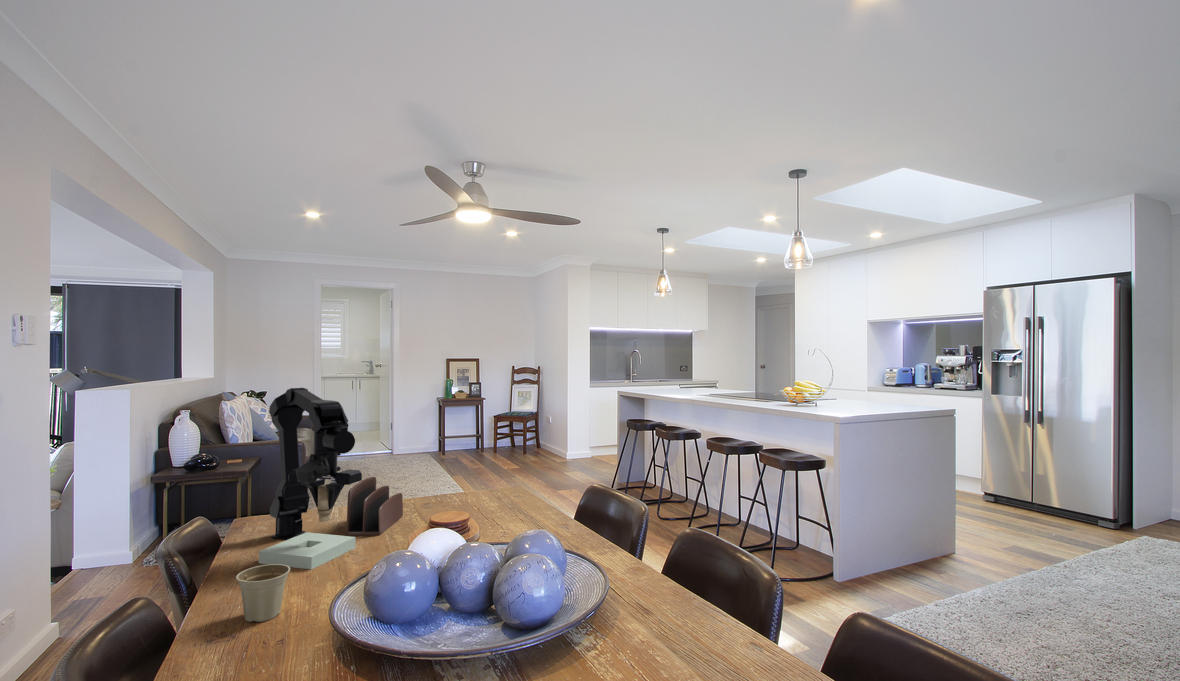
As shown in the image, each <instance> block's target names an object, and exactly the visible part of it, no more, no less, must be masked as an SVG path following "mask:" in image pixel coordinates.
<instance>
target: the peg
mask: <svg viewBox="0 0 1180 681" xmlns="http://www.w3.org/2000/svg"><path fill="white" fill-rule="evenodd" d="M325 485H326V484H324V485H321V486H318V508H317V515H318V522H320V523H322V522H325V523H326V522H328V521H331V513H332V512H333V510H332V509H333V508H331V509H329V506H328V489H327V487H326V486H325Z"/></svg>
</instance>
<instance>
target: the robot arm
mask: <svg viewBox="0 0 1180 681" xmlns="http://www.w3.org/2000/svg"><path fill="white" fill-rule="evenodd" d="M268 411H269V416H270V417H271V423H272V424H273V426H274V427H275V428H276V429H277V430H278V441H279V442H278V443H279V444H278V445H279V461H280V475H281V476H280V477H281V479H280V483H279V484H278V486H277V488H276V489H275V497H274V499H273V501H272V503H271V505H270V507H269V515H270V517H271V518H275V533H274V534H272V535H271V536H270V537H271V538H272V539H279V540H280V539H282V540H288V539H291V538H293V537H296V536H299V535H301V534H304V533H306V531H305V530H303V518H302V514H305V513H307V512H308V509H309V504H310V499H311V498H310V494H311V496H312V498H313V501H314V504H315V507H316V508H317V509H318V486H321V485H325V486H326V487H327V489H328V506H329V509H331V508H332V509H333V508H334V507H335V504H336V502H337V500H338V497H339V496H340V494H341V492H342V490H343V488H344V487H345V486H347V485H353V484H356V483H359V482H361V481H362V480H363V477H362V476H363V475H362V474H363V473H362V471H360V470H359V469H344V470H342V471H341V466H338V456H341V454H348V453H349V452H351V451H352V449H354V447H355V444H356V439H355V436H354V435H353V433H352V432H350V431H349V429H348V428H349V423H348V422H349V419H348V417H347V415H346V413H345V411H344V407H343V406H342V404H341V402H339V401H338V400H337V401H336V400H329V399H322V398H321V397H319V396H317V395H316V394H314V393H312V392H311V391H309V389H308V388H306V387H291V388H288V389H286V392H284V393H283V394H281V395H278V396H277V397H275V398H274V399H273V400H272V402H271V403H270V405H269V410H268ZM304 412H307V413H308V419H309V420H310V421H311V423H312V426H313V427H311V431H312V432H313V433H314V434H313V453H310V455H309V460H308V461H306V463H303V464H302V465H301V466H300V456H299V441H298V440H299V439H298V428H299V426H300V425H301V422H302V420H303V414H304ZM326 480H330V482H329V483H327V484H325V482H326ZM308 489H309V490H308ZM308 491H309V492H310V494H309V492H308Z"/></svg>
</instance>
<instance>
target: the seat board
mask: <svg viewBox="0 0 1180 681" xmlns="http://www.w3.org/2000/svg"><path fill="white" fill-rule="evenodd" d="M355 549H356V536H351V535H337V534H328V533H318V532H317V533H316V532H309V531H307V532H306V531H305V533H304V534H301V535H299V536H296V537H293V538H291V539H285V540H283V541H281V542H279V543H276V544H274V545H271V546H269V547H266V548H263V549H261V550H258V564H261V565H269V564H283V565H287V566H289V567H290V568H294V569H295V568H296V569H303V570H304V569H305V570H314V569H315V568H318V567H320V566H321V565H324V564H326V563H328V562H330V561H332V560H334V559H336V558H338V557H340V556H342V555H345V554H347V553H349V552H350V550H351V551H353V550H355ZM348 551H349V552H348ZM346 552H347V553H346Z"/></svg>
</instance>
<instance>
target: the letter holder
mask: <svg viewBox="0 0 1180 681" xmlns="http://www.w3.org/2000/svg"><path fill="white" fill-rule="evenodd" d="M403 502H404V501H403V493H402V492H398V493H394V494H393V495H391V496H390V486H389V485H383V486H380V487H378V488H377V477H376V476H370V477H367V478H365V479H362V480H361V481H358V482H357V483H355V485H354V486H352V487H351V488H350V489H349V490H348V493H347V506H346V508H347V510H346V533H345V536H380V535H382V534H383V533H384V532H385V531H386V530H388V529H389V528H390V527H392V525H394V524H395V523H396V522H398V521H399V520H400V519H401V518H402V517H403V516H404V504H403Z"/></svg>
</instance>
